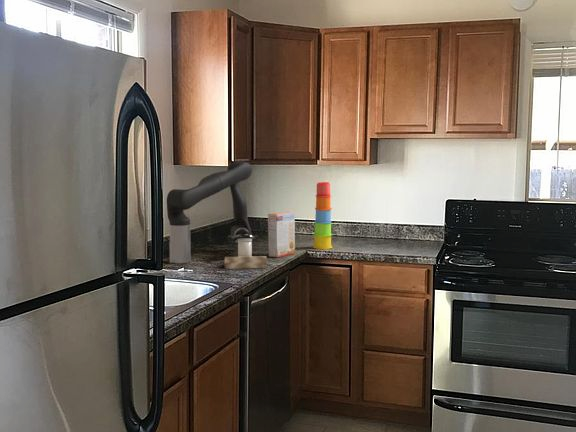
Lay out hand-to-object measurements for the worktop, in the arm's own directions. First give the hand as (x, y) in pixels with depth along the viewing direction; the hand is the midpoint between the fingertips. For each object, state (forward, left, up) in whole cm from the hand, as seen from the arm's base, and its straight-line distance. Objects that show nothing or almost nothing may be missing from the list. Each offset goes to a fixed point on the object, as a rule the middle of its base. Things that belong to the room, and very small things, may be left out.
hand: (243, 240), depth 284 cm
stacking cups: (+43, +38, -10) cm, 58 cm away
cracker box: (+19, +16, -10) cm, 27 cm away
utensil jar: (0, -12, -10) cm, 15 cm away
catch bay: (0, -12, -10) cm, 15 cm away
